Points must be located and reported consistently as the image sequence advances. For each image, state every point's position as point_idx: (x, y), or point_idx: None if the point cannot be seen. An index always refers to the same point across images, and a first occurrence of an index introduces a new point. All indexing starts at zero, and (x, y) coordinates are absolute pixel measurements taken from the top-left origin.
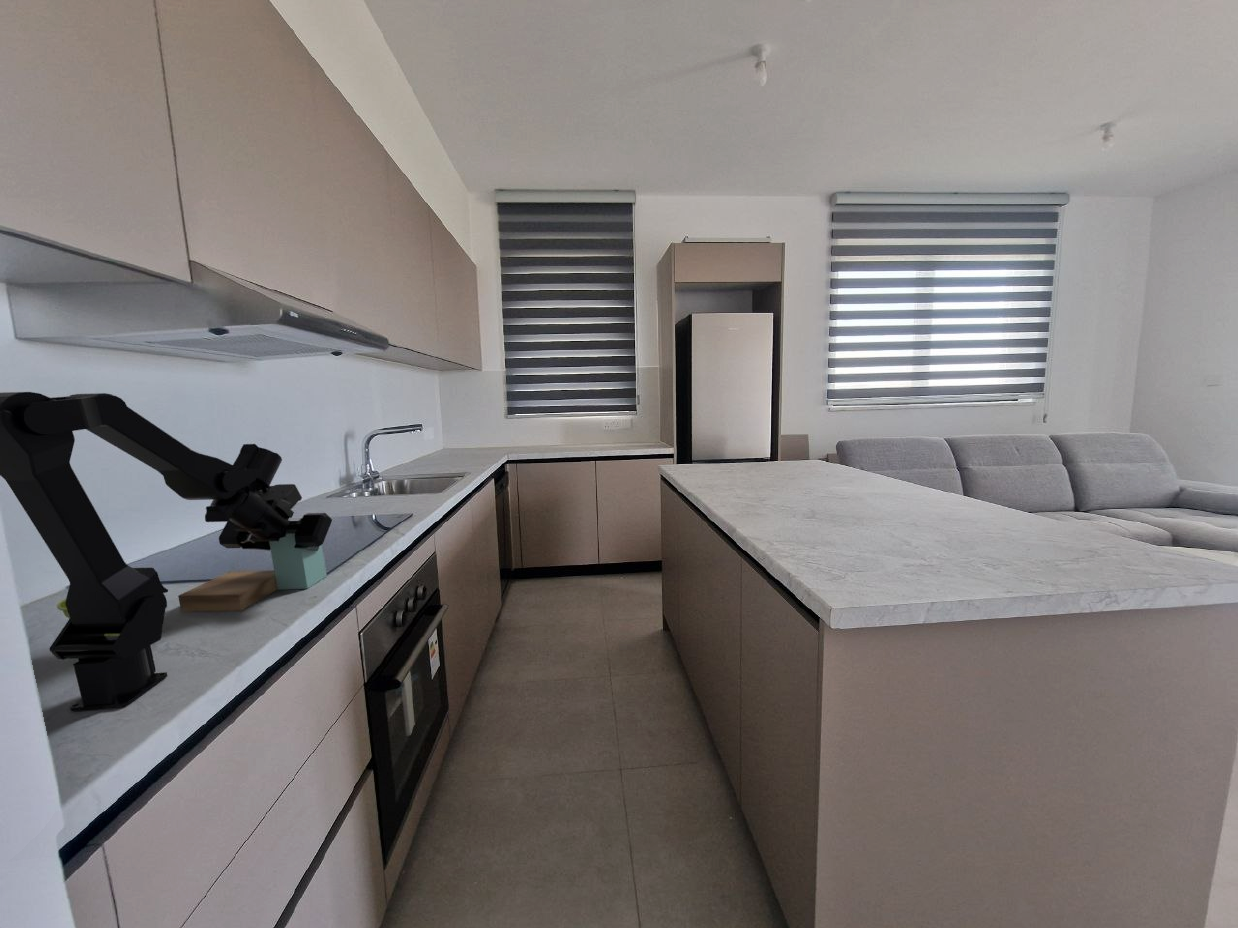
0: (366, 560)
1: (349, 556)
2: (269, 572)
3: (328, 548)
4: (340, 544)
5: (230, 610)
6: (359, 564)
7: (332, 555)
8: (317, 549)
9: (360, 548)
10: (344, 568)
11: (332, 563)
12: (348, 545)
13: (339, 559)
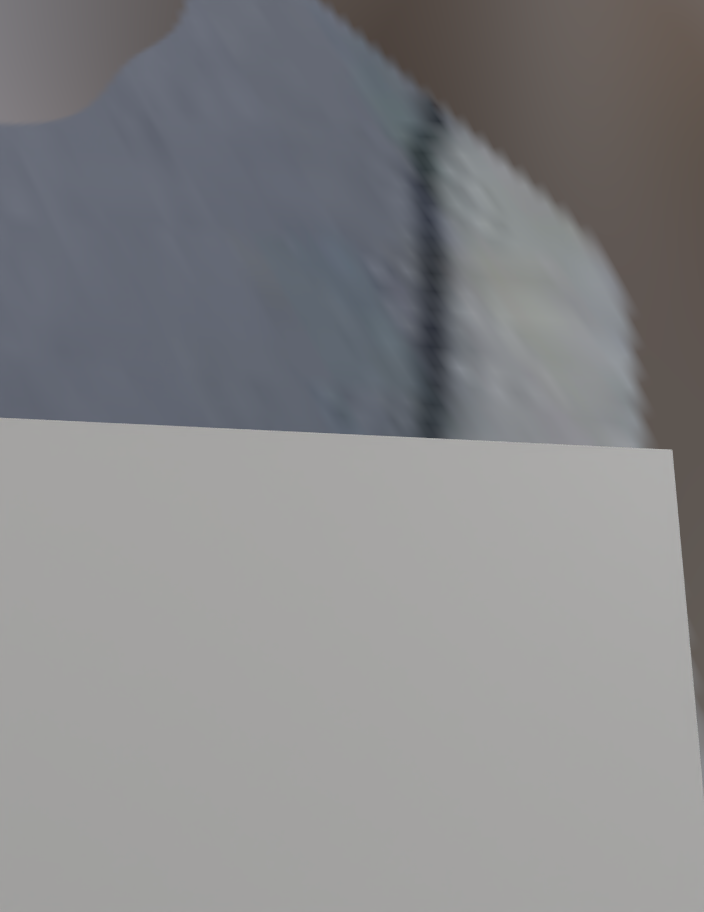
0: (603, 325)
1: (407, 238)
2: None
3: (167, 95)
4: (216, 37)
5: None
6: (597, 402)
7: (262, 211)
8: None
9: (403, 105)
10: None
11: (348, 360)
12: (283, 54)
13: (360, 287)
